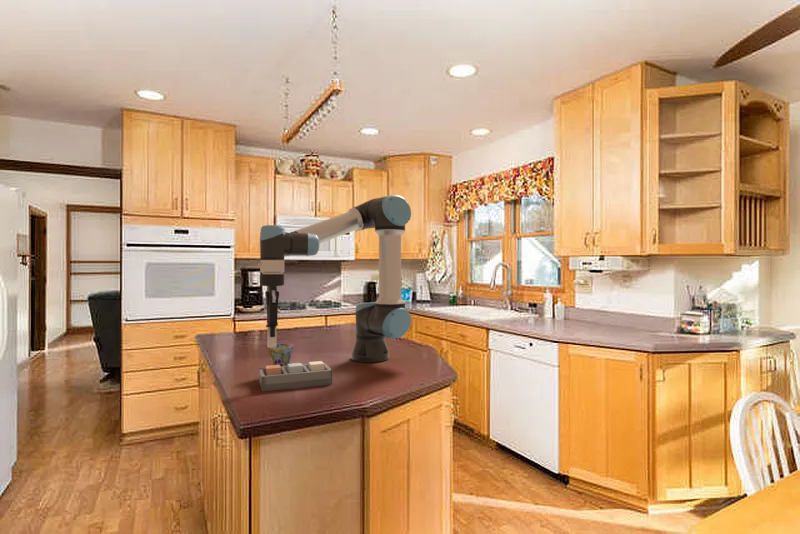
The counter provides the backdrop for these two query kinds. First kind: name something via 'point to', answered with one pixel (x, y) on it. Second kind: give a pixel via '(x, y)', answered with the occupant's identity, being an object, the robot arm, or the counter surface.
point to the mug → (280, 354)
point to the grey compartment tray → (294, 378)
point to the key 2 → (316, 366)
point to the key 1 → (273, 370)
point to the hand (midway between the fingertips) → (271, 346)
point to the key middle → (295, 368)
